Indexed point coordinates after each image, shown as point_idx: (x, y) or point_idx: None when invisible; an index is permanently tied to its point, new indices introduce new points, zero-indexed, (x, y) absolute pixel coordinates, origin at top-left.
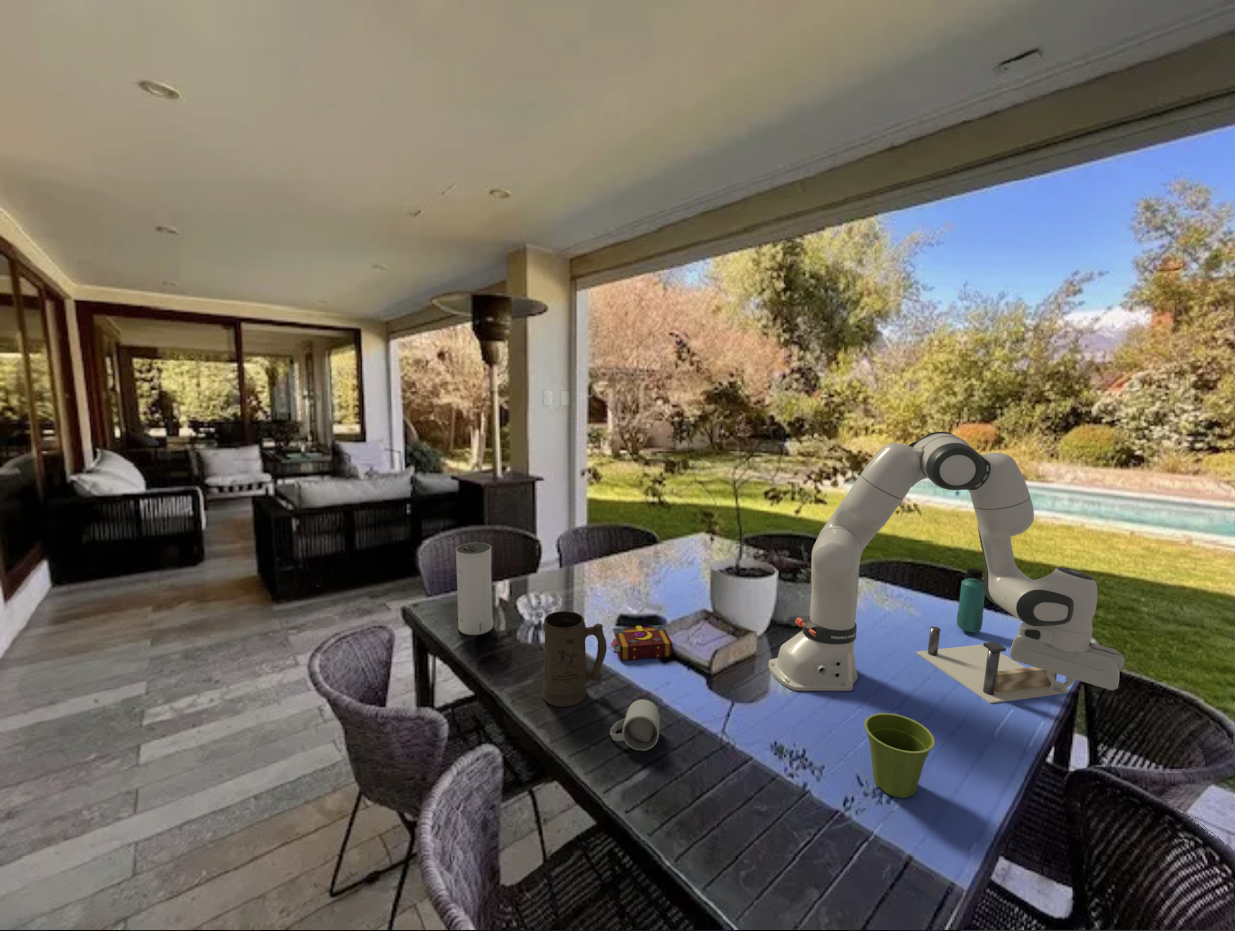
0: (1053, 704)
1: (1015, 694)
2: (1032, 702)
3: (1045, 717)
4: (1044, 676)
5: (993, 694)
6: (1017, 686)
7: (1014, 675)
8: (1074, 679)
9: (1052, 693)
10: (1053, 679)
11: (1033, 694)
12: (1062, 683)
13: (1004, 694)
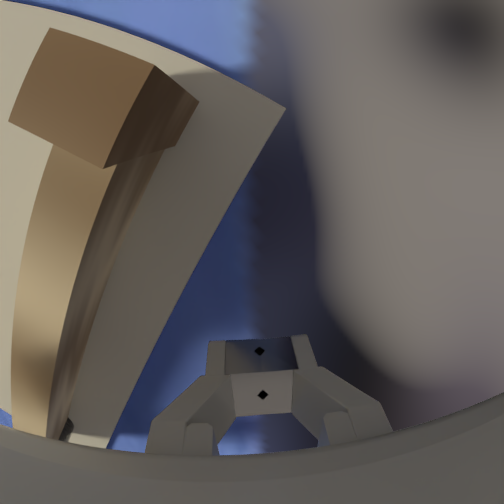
0: (245, 333)
1: (103, 383)
2: (172, 381)
3: (246, 438)
4: (119, 212)
5: (73, 428)
6: (78, 364)
7: (50, 431)
8: (378, 405)
9: (212, 230)
10: (221, 422)
11: (146, 328)
12: (282, 380)
13: (85, 405)
